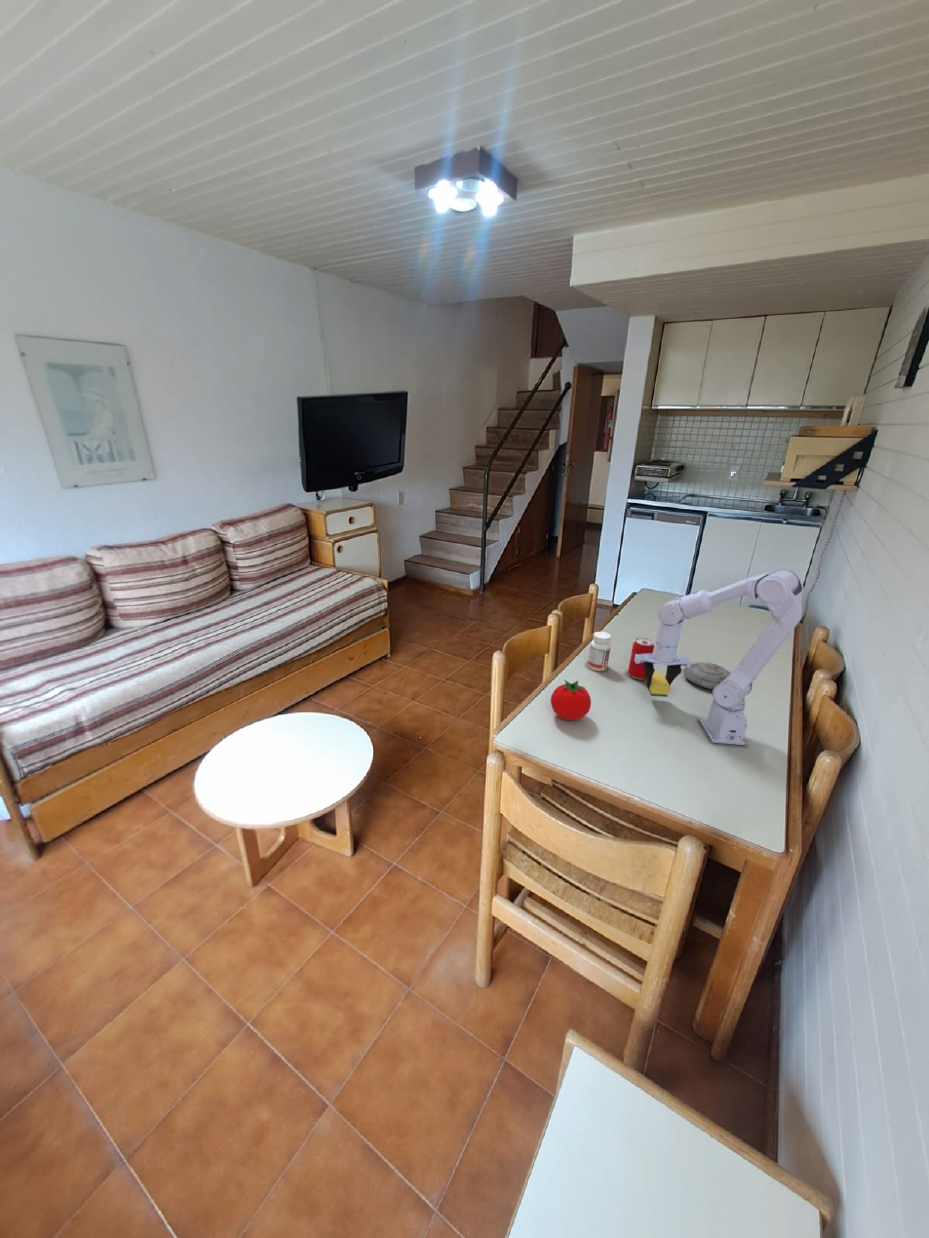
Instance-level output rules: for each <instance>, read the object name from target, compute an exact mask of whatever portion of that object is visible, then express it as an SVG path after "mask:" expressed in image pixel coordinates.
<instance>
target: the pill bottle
mask: <svg viewBox="0 0 929 1238" xmlns="http://www.w3.org/2000/svg"><path fill="white" fill-rule="evenodd" d="M611 648H612V645H611V634H610V633H608V632H604V631H595V632H594V633H593V637H592V641H590V647H589V652H588V658H587V659H588V660H587V666H588V668H590V669H591V670H593V671H598V672H602V671H605V670H607V669H608V665H609V659H610V653H611Z"/></svg>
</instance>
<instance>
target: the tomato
mask: <svg viewBox="0 0 929 1238" xmlns="http://www.w3.org/2000/svg"><path fill="white" fill-rule="evenodd" d="M564 682H565V683H563V684H560V685H558V686H557V687H556V688H555V689H554V690H553V692H552V694H551V696H550V705H551V708H552V710H553V712H554V713H555V715H557V716H558V717H559V718H561V719H563V720H566V721H578V720H580V719H583V718H584V717H586V715H588V713H590V710H591V707H592V700H591V696H590V693H589V692H588V690H587V689H586V686H585V687H584V686H582V685H579V680H576V681H575V682H573V683H570V682H569V681H567V680H566V679H564Z"/></svg>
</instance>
